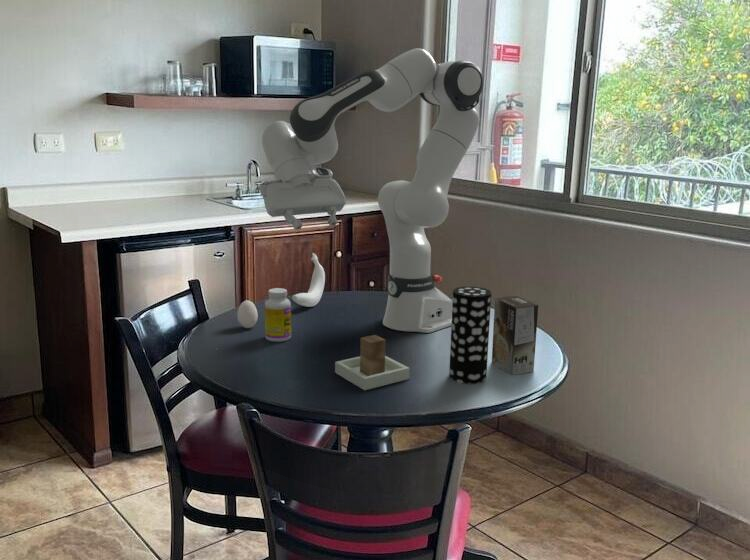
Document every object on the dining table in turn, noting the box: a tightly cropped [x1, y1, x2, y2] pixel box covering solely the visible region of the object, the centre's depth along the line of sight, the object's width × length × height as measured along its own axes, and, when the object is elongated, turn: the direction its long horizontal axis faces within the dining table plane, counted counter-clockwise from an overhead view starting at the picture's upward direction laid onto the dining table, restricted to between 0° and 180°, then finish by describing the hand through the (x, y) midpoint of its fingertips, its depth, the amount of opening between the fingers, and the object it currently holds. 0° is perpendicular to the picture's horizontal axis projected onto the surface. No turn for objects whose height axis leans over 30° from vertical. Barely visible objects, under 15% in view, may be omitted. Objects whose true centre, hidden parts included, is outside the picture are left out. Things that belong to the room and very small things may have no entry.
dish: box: [334, 355, 411, 391], centre depth 161 cm, size 12×12×3 cm
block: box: [359, 334, 386, 376], centre depth 160 cm, size 4×4×8 cm
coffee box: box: [491, 295, 539, 376], centre depth 166 cm, size 9×6×16 cm
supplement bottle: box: [264, 287, 292, 343], centre depth 184 cm, size 7×7×13 cm
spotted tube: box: [448, 286, 492, 385], centre depth 160 cm, size 8×8×20 cm
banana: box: [291, 252, 326, 308], centre depth 213 cm, size 5×19×15 cm, turn 166°
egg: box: [236, 299, 259, 329], centre depth 192 cm, size 5×5×8 cm
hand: (316, 226), depth 168 cm, fingers open, 8 cm apart
